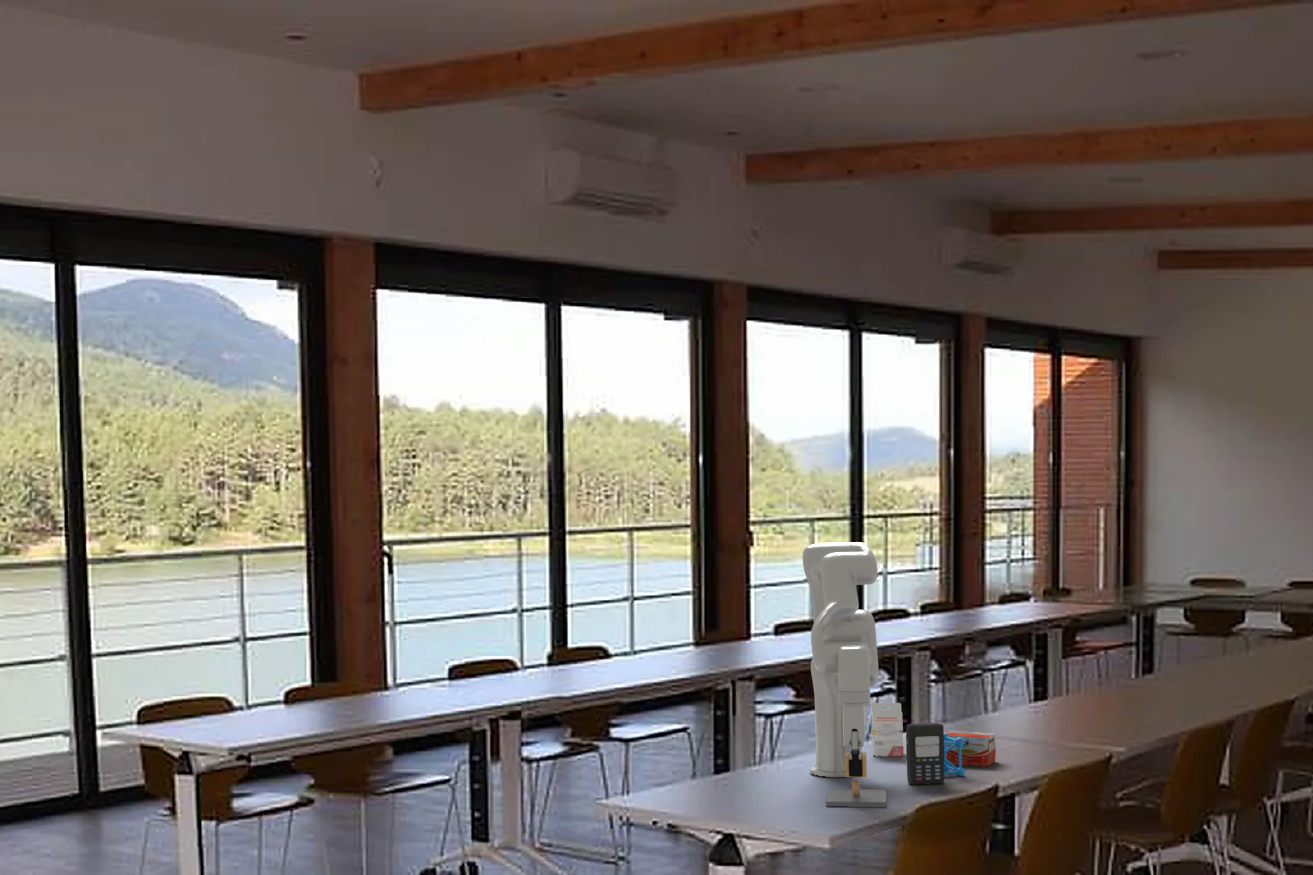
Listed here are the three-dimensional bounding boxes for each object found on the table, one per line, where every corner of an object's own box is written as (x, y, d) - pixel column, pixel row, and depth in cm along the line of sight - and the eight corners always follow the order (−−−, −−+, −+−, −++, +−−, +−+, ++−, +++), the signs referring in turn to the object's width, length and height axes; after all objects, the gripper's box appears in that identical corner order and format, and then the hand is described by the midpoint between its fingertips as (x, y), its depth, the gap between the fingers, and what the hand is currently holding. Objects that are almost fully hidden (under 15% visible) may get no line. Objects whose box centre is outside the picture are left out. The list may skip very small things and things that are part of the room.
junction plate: (827, 794, 374) (827, 774, 374) (885, 794, 372) (885, 775, 373) (826, 806, 361) (825, 786, 361) (886, 807, 359) (885, 787, 359)
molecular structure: (966, 776, 393) (965, 737, 393) (932, 780, 390) (931, 740, 390) (946, 769, 403) (946, 731, 403) (913, 773, 399) (912, 734, 400)
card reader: (910, 786, 382) (909, 725, 383) (905, 783, 386) (904, 723, 387) (945, 784, 384) (944, 724, 384) (940, 781, 388) (939, 721, 388)
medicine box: (996, 762, 412) (995, 732, 413) (990, 767, 405) (989, 737, 405) (940, 759, 418) (939, 729, 419) (933, 764, 411) (932, 734, 411)
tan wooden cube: (845, 773, 369) (845, 752, 369) (866, 773, 369) (866, 752, 369) (845, 777, 364) (845, 756, 364) (866, 777, 364) (866, 756, 364)
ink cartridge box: (903, 753, 426) (902, 700, 427) (903, 757, 422) (902, 703, 422) (872, 753, 428) (871, 700, 428) (872, 756, 423) (871, 703, 423)
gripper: (839, 692, 376) (840, 767, 375) (837, 702, 359) (839, 781, 359) (870, 693, 375) (871, 767, 374) (870, 702, 358) (871, 781, 358)
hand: (855, 773), depth 366 cm, fingers closed on tan wooden cube, 5 cm apart
